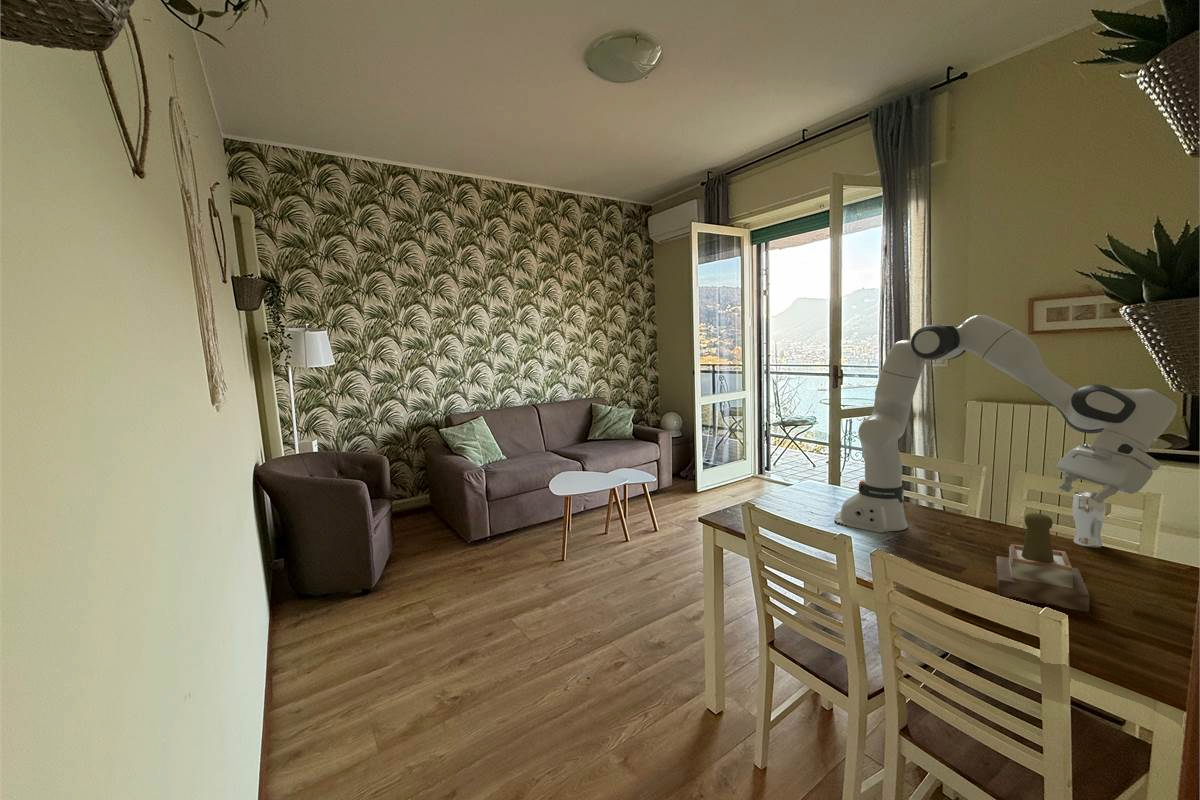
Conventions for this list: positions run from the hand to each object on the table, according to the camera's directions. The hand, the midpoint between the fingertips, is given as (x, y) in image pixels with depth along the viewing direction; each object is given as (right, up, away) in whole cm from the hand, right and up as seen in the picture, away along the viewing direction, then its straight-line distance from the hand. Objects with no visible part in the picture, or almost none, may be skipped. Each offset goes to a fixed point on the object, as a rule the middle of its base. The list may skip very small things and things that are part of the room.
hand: (1078, 495), depth 125 cm
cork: (-12, -15, -2) cm, 19 cm away
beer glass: (+25, -19, +23) cm, 39 cm away
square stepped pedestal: (-11, -23, -1) cm, 26 cm away
